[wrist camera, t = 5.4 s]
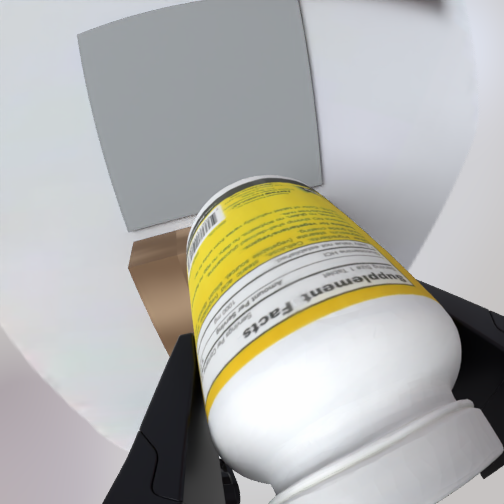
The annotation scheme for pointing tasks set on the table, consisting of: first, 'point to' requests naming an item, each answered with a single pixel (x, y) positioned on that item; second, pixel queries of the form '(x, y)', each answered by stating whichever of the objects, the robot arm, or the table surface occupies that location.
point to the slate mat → (200, 103)
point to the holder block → (164, 283)
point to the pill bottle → (325, 355)
